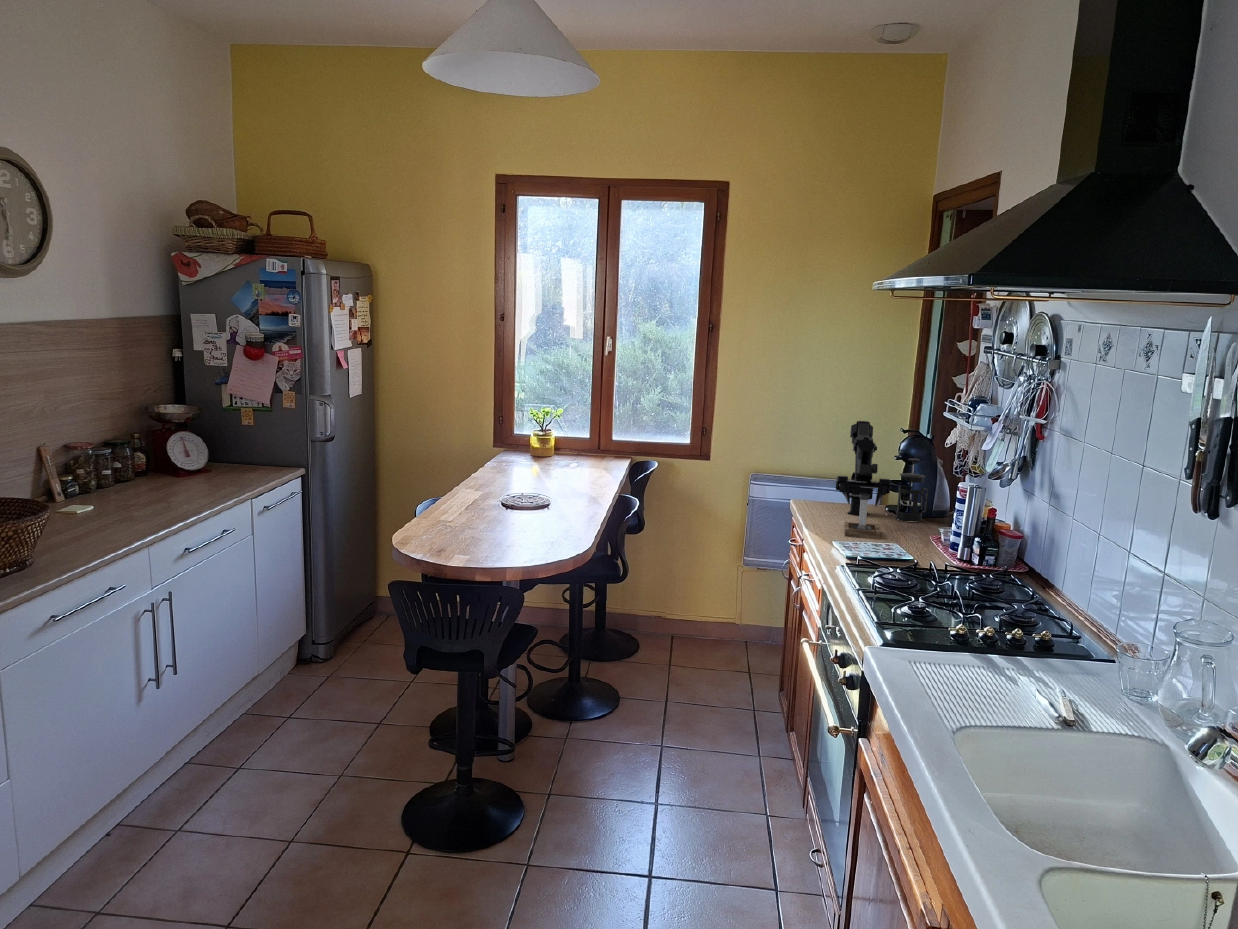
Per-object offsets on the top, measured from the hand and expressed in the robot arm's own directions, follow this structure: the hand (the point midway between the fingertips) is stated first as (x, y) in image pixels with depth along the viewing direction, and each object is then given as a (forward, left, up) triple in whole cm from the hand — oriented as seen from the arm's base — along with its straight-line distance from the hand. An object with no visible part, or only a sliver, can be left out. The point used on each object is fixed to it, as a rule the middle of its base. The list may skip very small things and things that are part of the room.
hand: (862, 504), depth 305 cm
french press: (-27, +11, -9) cm, 30 cm away
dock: (+7, +2, -9) cm, 12 cm away
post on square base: (+7, +2, -8) cm, 11 cm away
